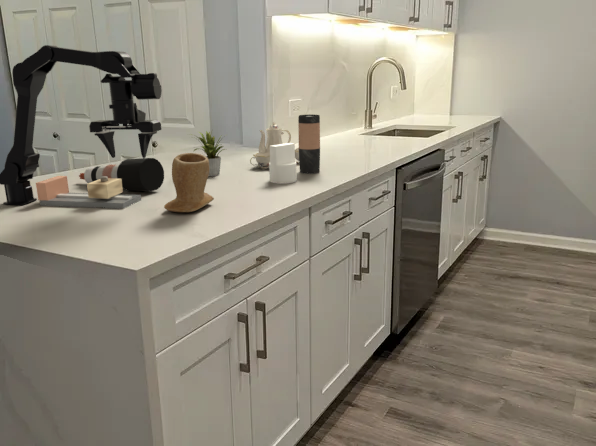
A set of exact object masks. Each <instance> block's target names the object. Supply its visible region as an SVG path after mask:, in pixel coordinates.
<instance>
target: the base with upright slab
mask: <svg viewBox="0 0 596 446" xmlns="http://www.w3.org/2000/svg"><path fill="white" fill-rule="evenodd" d="M295 144H296V143H293V142H290V143H287V142H285V143H283V144H278V145H272V146H270V163H269V166H268V167H269V168H268V169H269V182H270V183H272V184H292V183H295V182H297V180H298V177H297V171H298V170H297V162H296V158H295V149H296V148H295V147H296V145H295Z"/></svg>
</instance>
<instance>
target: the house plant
mask: <svg viewBox="0 0 596 446" xmlns="http://www.w3.org/2000/svg"><path fill="white" fill-rule="evenodd" d="M205 132H206V133H205V136H204V134H203V133H202V132H200V131H198V133H199V135H201V137H200V136H199V137H198V136H197V135H195V134H191V133H190V134H188V135H191V138H193V139H195V138H196V140H198V142H199V143H201V145H202V146H200V148H201V150H202V151H203V152H204V154H206V155H205V156H206V157H207V158H208V160H209V175H208V177H216V176H220V175H221V174H220V172H221V163H222V156H221V155H219V153H221V152H222V151H225V150H226V148H224V149H222V148H223V147H224V145H222V144H221V143H220V142H221V141H222V139H221V137H222V135H223V134H222V135H220V137H219V138H218V140H216V143H215V136H212V132H213V130H211V131H209V132H208V131H207V130H206V131H205ZM193 136H194V137H193ZM226 136H227V134H225V135H224V137H226ZM200 141H201V142H200ZM200 148H195V149H194V150H193V152H195V151H197V150H200Z"/></svg>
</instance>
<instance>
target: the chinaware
mask: <svg viewBox="0 0 596 446" xmlns="http://www.w3.org/2000/svg"><path fill="white" fill-rule="evenodd" d="M265 130H266V133H265V131H264V130H262V129H260V130H259V132H260V135H261V137H260V141H259V144H258V152H256V153H255V154H252V157H251V158H250V160H249V163H250V164H251V165H252V166H257V167H258V168H260V169H263V170H264V169H269V163H270V146H272V145H278V144H284V142H283V140H282V139H283V138H282V136H283V135H284V133H285V132H286V133H287V135H288V140H287V142H286V143H291V139H292V136H291V132H290V131H289V130H288V129H283V127H282V128H281V127H279V125H278V124H277V123H276V122H275V121H273V122H272V124H271V125H270V126H269V127H268V128H265ZM266 135H267V137H266ZM252 159H255V162H256V163H255V164H253V163H252ZM295 161H298V164H299V147H297V148H295Z"/></svg>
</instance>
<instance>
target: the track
mask: <svg viewBox="0 0 596 446" xmlns="http://www.w3.org/2000/svg"><path fill="white" fill-rule="evenodd" d="M68 181H69V180H68V176H67V175H56V176H53V177H50V178H47V179H43V180H40V181H37V182H35V186H36V193H37V199H38V201H39V206H45V207H46V206H47V207H48V206H49V207H51V206H52V207H74V208H75V207H76V208H96V207H103V208H102V209H122V208H124V209H126V208H128V207H130V206H131V204H132V205H134V204H136V203H138V202H140V201H142V195H141V194H126V193H125V194H124V193H123V194H121V193H120V194H118V195H115V196H113V197H111V198H108V199H105V198H89V197H88V192H70V188H69V182H68ZM139 200H140V201H139ZM137 201H138V202H137ZM135 202H136V203H135ZM133 203H134V204H133ZM129 205H130V206H129ZM127 206H128V207H127ZM104 207H105V208H104ZM125 207H126V208H125Z"/></svg>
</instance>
